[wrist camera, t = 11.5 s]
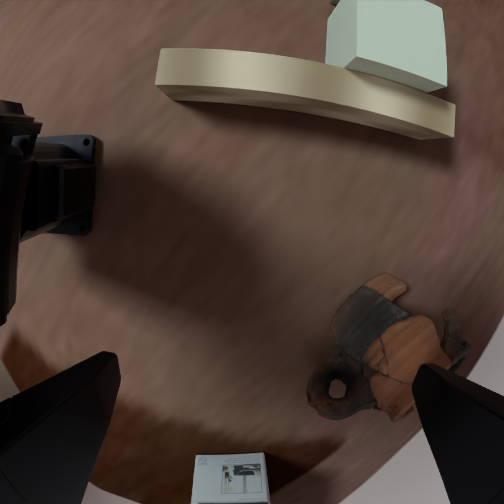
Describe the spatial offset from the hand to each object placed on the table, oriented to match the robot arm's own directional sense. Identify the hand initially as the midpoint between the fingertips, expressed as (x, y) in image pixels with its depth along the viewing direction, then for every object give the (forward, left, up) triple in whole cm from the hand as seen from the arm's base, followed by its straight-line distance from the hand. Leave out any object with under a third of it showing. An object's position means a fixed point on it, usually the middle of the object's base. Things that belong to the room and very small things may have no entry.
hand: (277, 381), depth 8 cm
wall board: (+2, +10, -12) cm, 16 cm away
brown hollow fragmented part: (+9, -5, -12) cm, 16 cm away
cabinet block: (+5, +14, -12) cm, 19 cm away
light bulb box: (+1, -24, -12) cm, 27 cm away
